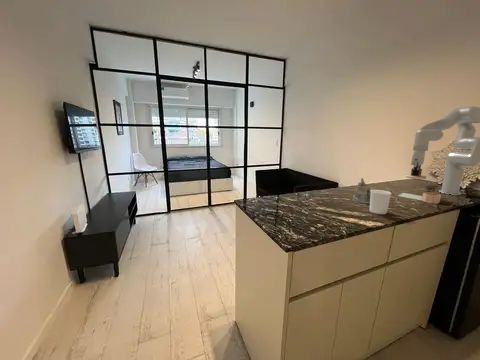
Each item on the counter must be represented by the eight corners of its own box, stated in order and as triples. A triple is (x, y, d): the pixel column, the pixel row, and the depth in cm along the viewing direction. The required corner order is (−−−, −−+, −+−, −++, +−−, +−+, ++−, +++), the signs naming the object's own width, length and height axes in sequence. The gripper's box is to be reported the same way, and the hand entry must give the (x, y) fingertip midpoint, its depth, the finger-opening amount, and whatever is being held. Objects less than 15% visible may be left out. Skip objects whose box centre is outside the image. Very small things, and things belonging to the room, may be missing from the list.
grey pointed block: (349, 200, 140) (353, 179, 136) (357, 196, 151) (361, 176, 147) (375, 207, 129) (381, 184, 125) (382, 202, 140) (387, 181, 136)
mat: (403, 193, 156) (403, 192, 156) (425, 197, 146) (425, 196, 146) (397, 196, 148) (397, 195, 148) (420, 201, 138) (420, 200, 138)
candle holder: (385, 216, 112) (388, 195, 110) (365, 211, 120) (368, 191, 117) (390, 212, 119) (393, 192, 116) (371, 207, 126) (373, 188, 123)
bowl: (423, 199, 141) (425, 191, 140) (439, 203, 135) (441, 194, 133) (420, 202, 136) (421, 193, 135) (437, 205, 130) (439, 196, 128)
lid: (408, 175, 151) (409, 167, 150) (427, 177, 143) (429, 168, 142) (403, 177, 145) (404, 168, 144) (423, 179, 136) (425, 170, 135)
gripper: (416, 147, 147) (412, 173, 151) (409, 148, 138) (405, 175, 142) (430, 148, 142) (425, 174, 146) (424, 149, 132) (419, 177, 136)
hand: (415, 174), depth 144 cm, fingers closed on lid, 3 cm apart
